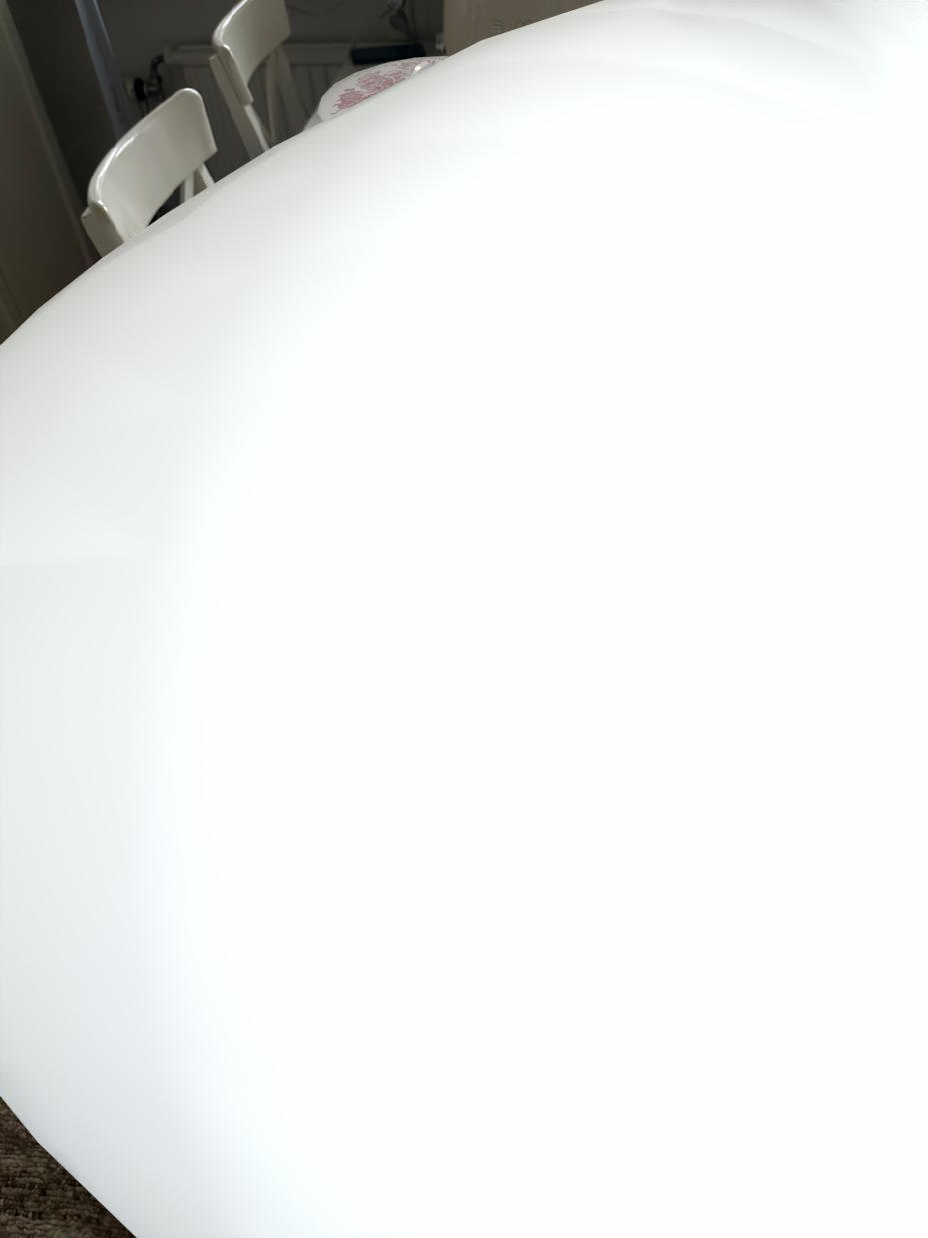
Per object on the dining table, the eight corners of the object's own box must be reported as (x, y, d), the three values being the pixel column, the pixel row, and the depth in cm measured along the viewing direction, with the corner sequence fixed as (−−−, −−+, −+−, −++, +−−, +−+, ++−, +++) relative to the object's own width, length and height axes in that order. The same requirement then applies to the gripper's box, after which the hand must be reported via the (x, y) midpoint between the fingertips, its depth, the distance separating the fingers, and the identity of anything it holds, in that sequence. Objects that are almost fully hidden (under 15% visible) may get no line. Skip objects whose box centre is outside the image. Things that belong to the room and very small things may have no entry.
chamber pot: (313, 279, 111) (280, 102, 95) (366, 182, 128) (346, 18, 112) (530, 292, 107) (534, 109, 91) (555, 190, 124) (562, 21, 108)
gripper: (-261, 758, 41) (-101, 875, 51) (176, 693, 42) (243, 820, 53) (-216, 653, 45) (-76, 782, 55) (182, 597, 46) (243, 733, 57)
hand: (82, 800), depth 54 cm, fingers open, 8 cm apart
